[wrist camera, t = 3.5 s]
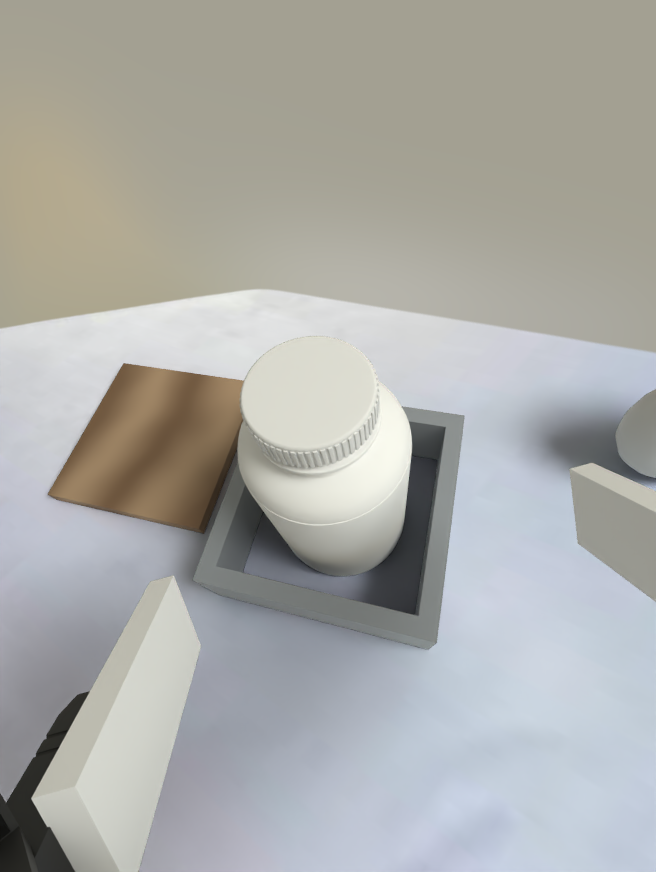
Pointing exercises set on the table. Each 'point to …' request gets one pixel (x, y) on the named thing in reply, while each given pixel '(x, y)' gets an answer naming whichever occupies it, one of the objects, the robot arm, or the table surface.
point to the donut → (639, 436)
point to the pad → (156, 447)
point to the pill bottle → (326, 453)
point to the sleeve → (226, 578)
